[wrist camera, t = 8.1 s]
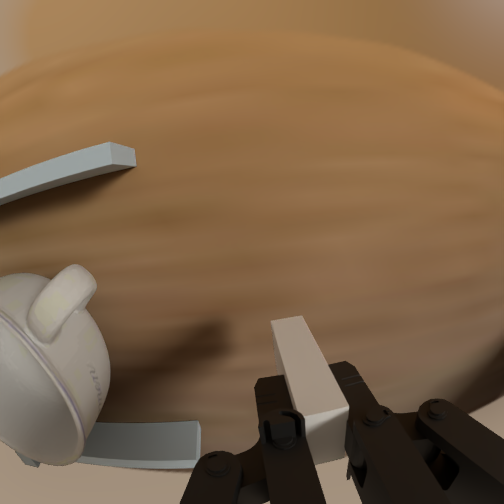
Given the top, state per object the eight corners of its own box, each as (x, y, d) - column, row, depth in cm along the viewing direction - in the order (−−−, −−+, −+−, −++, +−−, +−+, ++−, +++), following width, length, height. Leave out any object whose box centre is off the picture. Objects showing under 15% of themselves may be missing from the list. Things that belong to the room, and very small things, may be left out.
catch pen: (133, 144, 15) (98, 131, 10) (201, 431, 20) (200, 482, 15) (-39, 203, 14) (-85, 213, 9) (45, 426, 19) (25, 464, 14)
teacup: (65, 407, 19) (30, 475, 11) (-19, 303, 16) (-80, 348, 9) (192, 335, 18) (180, 427, 11) (87, 190, 16) (3, 204, 8)
